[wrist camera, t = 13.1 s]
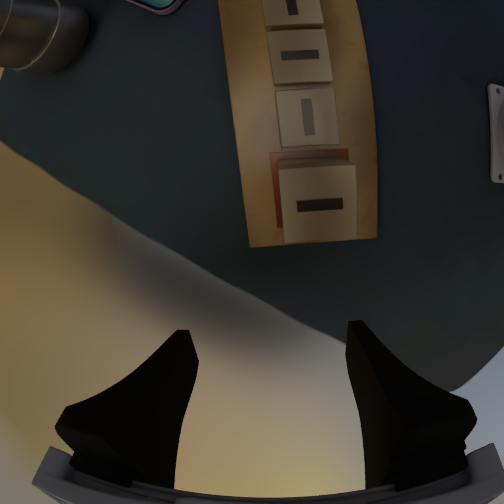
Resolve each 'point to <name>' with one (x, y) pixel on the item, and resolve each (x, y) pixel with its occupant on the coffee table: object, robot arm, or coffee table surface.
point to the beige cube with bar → (318, 198)
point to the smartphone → (158, 5)
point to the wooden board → (298, 101)
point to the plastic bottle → (41, 34)
